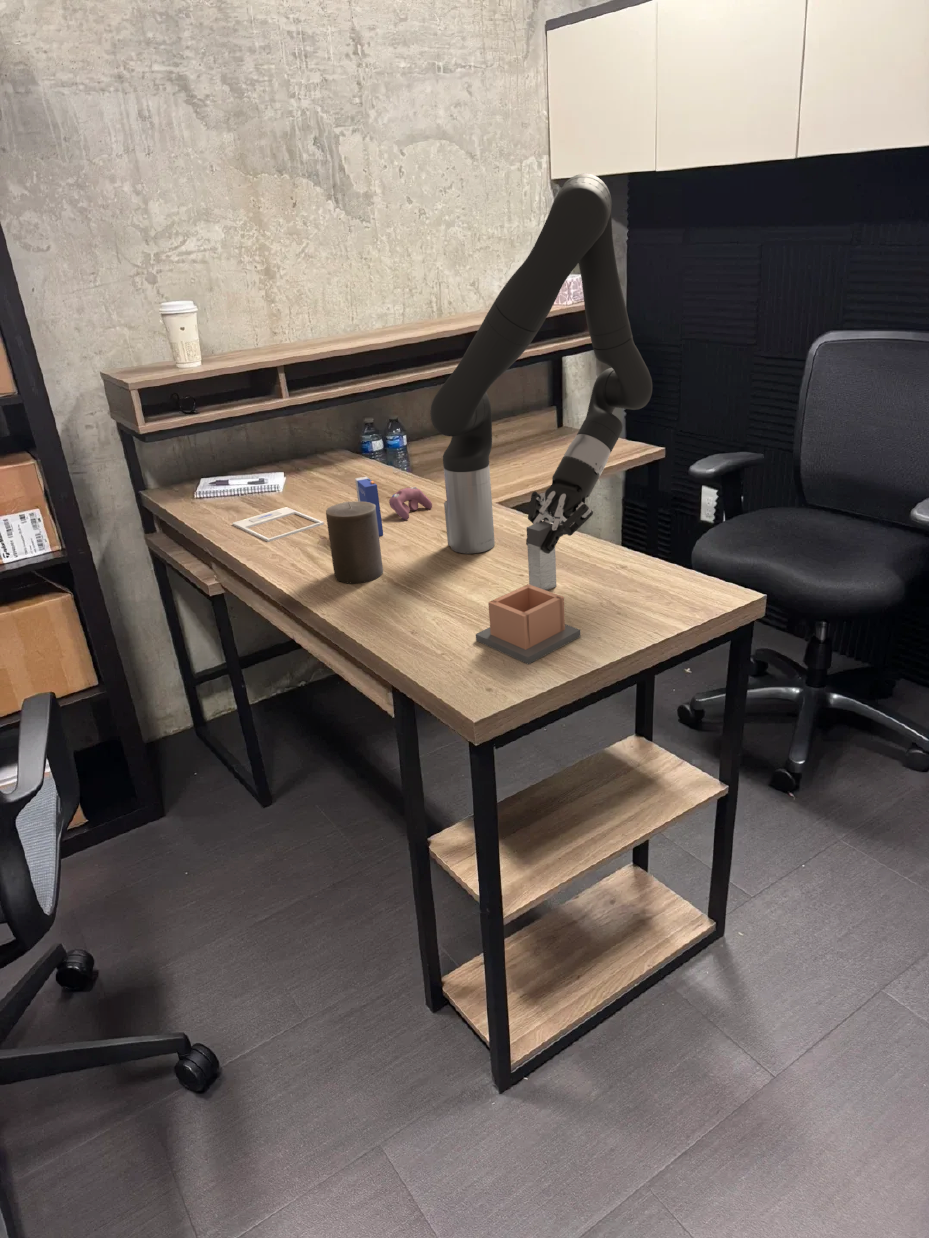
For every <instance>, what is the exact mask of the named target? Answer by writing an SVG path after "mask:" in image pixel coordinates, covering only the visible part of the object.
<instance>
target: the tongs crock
mask: <svg viewBox="0 0 929 1238" xmlns="http://www.w3.org/2000/svg"><path fill="white" fill-rule="evenodd" d="M487 603H488V617H489V627H487V628H485V629H482V630H481V631H479V632H477V633H475V641H476V642H478V643H480V644H482V645H484V646H485V645H486V646H487V647H490V648H492V649H494V650H496V651H498V652H500V653H503V654H505V655H507V656H509V657H511V658H514V659H515V660H518V661H520V662H522V663H525V664H527V665H529V664H530V665H531V664H532V663H534V662H536V661H537V660H539V659H541V658H543V657H545V656H546V655H549V654H550V653H552V652H554V651H556V650H558V649H560V648H562V647H564V646H565V645H568V644H569V643H572V642H573V641H574V640H576V639H579V638H581V631H582V630H581V629H580V628H577V627H574V626H572V625H569V624H567V623H566V620H565V619H566V618H565V597H564V596H563V595H560V594H557V593H554V592H551V591H550V590H547V591H546V590H543V589H540V588H538V587H535V586H532V585H529V583H528V584H525V585H523V586H521V587H519V588H516V589H515V590H512V591H510V592H508V593H507V592H506V593H505V594H503V595H501V596H499V597H496V598H495V599H492V600H490V601H488V602H487Z"/></svg>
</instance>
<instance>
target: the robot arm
mask: <svg viewBox="0 0 929 1238" xmlns="http://www.w3.org/2000/svg"><path fill="white" fill-rule="evenodd" d="M612 206H613V203H612V197H611V193H610V190H609V188H608V186H607V184H605V182H604V181H603V179H600V178H599V177H598V176H597V175H594V174H590V173H579V174H576V175H573V176H571V177H570V178H568V179H567V180H566V181H565V182H564V184H563V185H562V186H561V187H560V188H559V191H558V192H557V195H556V196H555V198H554V200H553V202H552V205H551V206H550V210H549V213H548V215H547V218H546V220H545V222H544V224H543V227H542V229H541V231H540V232H539V235H538V237H537V238H536V241H535V243H534V245H533V246H532V249H531V250H530V253H529V254H528V256H527V257H526V258H525V260H524V262H523V263H522V264H521V265H520V266H519V268H517V270H516V271H515V272H514V273H513V275H511V277H510V278H509V279H508V281H506V283H505V284H504V286H502V287H503V288H502V289H501V290H500V292H499V294H498V295H497V296H496V298H495V300H494V301H493V303H492V305H491V306H490V308H489V310H488V312H487V313H486V315H485V317H484V319H483V321H482V323H481V324H480V326H479V328H478V330H477V331H476V333H475V334H474V337H473V338H472V340H471V342H470V343H469V345H468V347H467V349H466V351H465V352H464V354H463V356H462V358H461V360H460V361H459V363H458V364H457V366H456V367H455V369H454V370H453V372H452V373H451V374H450V375H449V376H448V378H447V380H446V381H445V382H444V383H443V385H442V386H441V387H440V388H439V390H438V391H437V393H436V394H435V396H434V397H433V400H432V402H431V405H430V421H431V424H432V425H433V428H434V429H435V430H436V431H437V432H438V433H439V434H441V435H442V436H445V437H451V440H450V442H449V444H448V446H447V447H446V449H445V451H444V453H443V454H442V464H443V465H442V466H443V473H444V474H443V475H444V485H445V496H446V497H445V498H446V501H444V503H443V506H444V507H443V508H444V517H445V528H446V538H447V545H448V546H450V549H451V551H454V552H455V553H460V554H479V553H483V552H486V551H489V550H491V549H493V548H494V547H495V543H496V542H495V529H494V527H495V526H494V514H493V511H494V510H493V500H492V484H491V472H490V471H491V470H490V455H491V451H492V448H493V429H492V428H493V419H492V406H491V401H490V396H489V395H488V390H489V388H491V386H492V385H493V384H494V383H495V381H496V380H498V379H499V378H500V377H501V375H503V374H504V373H505V372H506V371H507V370H508V369H509V368H510V367H511V366H512V365H513V364H514V363H516V361H517V360H518V359H519V358H520V357H521V356H522V354H523V353H524V352H525V351H526V350H527V348H528V347H529V346H530V344H531V343H532V342H533V340H534V338H535V337H536V336H537V334H538V332H539V331H540V329H541V327H542V326H543V324H544V323H545V321H546V319H547V317H548V315H549V314H550V312H551V310H552V308H553V306H554V304H555V302H556V300H557V298H558V296H559V293H560V291H561V289H562V287H563V286H564V284H565V282H566V280H567V279H568V278H569V276H570V275H571V274H572V272H573V271H574V269H575V268H576V266H577V265H578V267H579V273H580V277H581V284H582V294H583V304H584V313H585V319H586V320H585V321H586V324H587V325H586V326H587V330H588V333H589V337H590V340H591V346H592V349H593V353H594V356H595V358H596V359H597V361H599V362H600V363H602V364H605V365H607V366H609V368H606V369H605V370H603V371H602V372H601V373H600V374H599V375H598V376H597V378H596V379H595V381H594V384H593V387H592V392H591V395H590V400H589V404H588V408H587V413H586V416H585V419H584V420H583V422H582V424H581V426H580V428H579V430H578V432H577V434H576V435H575V437H574V438H573V440H572V441H571V442H570V444H569V446H568V447H567V449H566V450H565V453H564V454H563V456H562V457H561V460H560V462H559V464H558V466H557V467H556V469H555V471H554V472H553V475H552V477H551V478H552V479H551V485H550V486H549V487H548V488H547V489H546V490H545V492H542V493H539V492H537V491H533V492H532V493H531V496H530V502H529V503H530V504H529V508H528V515H527V520H528V521H529V522H531V523H532V525H534V524H536V523H539V522H541V521H544V522H547V523H552V524H553V525H552V531H551V530H550V531H549V532H548V534H547V536H546V538H545V540H544V542H543V544H542V546H541V550H542V551H544V552H545V553H547V554H549V553H550V552H551V551H552V550H553V549H554V548H555V549H556V547H557V544H558V542H559V540H560V538H561V537H563V536H565V535H567V536H569V537H571V536H572V535H573V534H575V532H576V531H578V530H579V528H580V527H582V526H583V525H584V524H585V522H587V521H588V520H589V519H590V518H591V517H592V516H593V514H594V511H593V510H592V509H591V507H589V506H588V505H587V504H586V499H588V498H589V497H590V496H591V493H592V492H593V490H594V488H595V487H596V485H597V482H598V481H599V479H600V477H601V475H602V473H603V471H604V470H605V468H606V465H607V463H608V461H609V457H610V454H611V453H612V451H613V449H614V447H616V446H615V445H616V444H617V442H618V440H619V438H620V436H621V434H622V431H623V424H622V422H621V419H619V417H618V416H616V415H615V414H613V412H614V410H615V409H616V408H617V409H625V410H633V411H635V410H640V409H642V408H644V407H646V406H647V405H648V403H649V402H650V400H651V397H652V394H653V379H652V376H651V374H650V371H649V368H648V366H647V365H646V363H645V361H644V359H643V357H642V355H641V353H640V351H639V349H638V348H637V345H635V342H634V338H633V337H634V336H633V333H632V329H631V328H632V327H631V323H630V319H629V316H628V310H627V307H626V302H625V298H624V294H623V289H622V285H621V281H620V276H619V272H618V266H617V259H616V254H615V247H614V235H613V225H612V224H613V220H612ZM525 539H526V540H525V542H526V546H527V538H525Z"/></svg>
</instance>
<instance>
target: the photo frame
mask: <svg viewBox="0 0 929 1238" xmlns="http://www.w3.org/2000/svg"><path fill="white" fill-rule="evenodd" d="M292 515H293V516H294V515H297V516H300V517H302V518H304V519H307V520H309V521H312V522H313V523H312V524H310V525H308V526H303V527H301V528H297V529H294V530H291V531H288V532H285V533H282V534H279V535H275V536H271V537H270V538H269V537H267V536H265V535H263V534H260V533H259V532H256V531H254V530H252V529H251V528H253V527H254V528H255V527H257V526H260V525H262V524H266V523H269V522H273V521H276V520H279V519H284V518H286V517H289V516H292ZM323 525H325V521H323V520H320V519H318V518H315V517H312V516H310V515H307V514H305V513H303V512H300V511H298V510H295V509H292V508H290V507H287V506H285V507H281V508H278V509H274V510H271V511H268V512H264V513H261V514H257V515H255V516H250V517H248V518H245V519H240V520H237V521H234V522H232V526H234V527H236V528H238V529H240V530H243V531H244V532H247V533H249V534H251V535H252V536H255V537H257V538H259V539H261V540H263V541H265V542H268V543H271V542H273V541H276V540H279V539H282V538H285V537H289V536H291V535H295V534H298V533H301V532H305V531H308V530H310V529H314V528H316V527H320V526H323Z"/></svg>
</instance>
